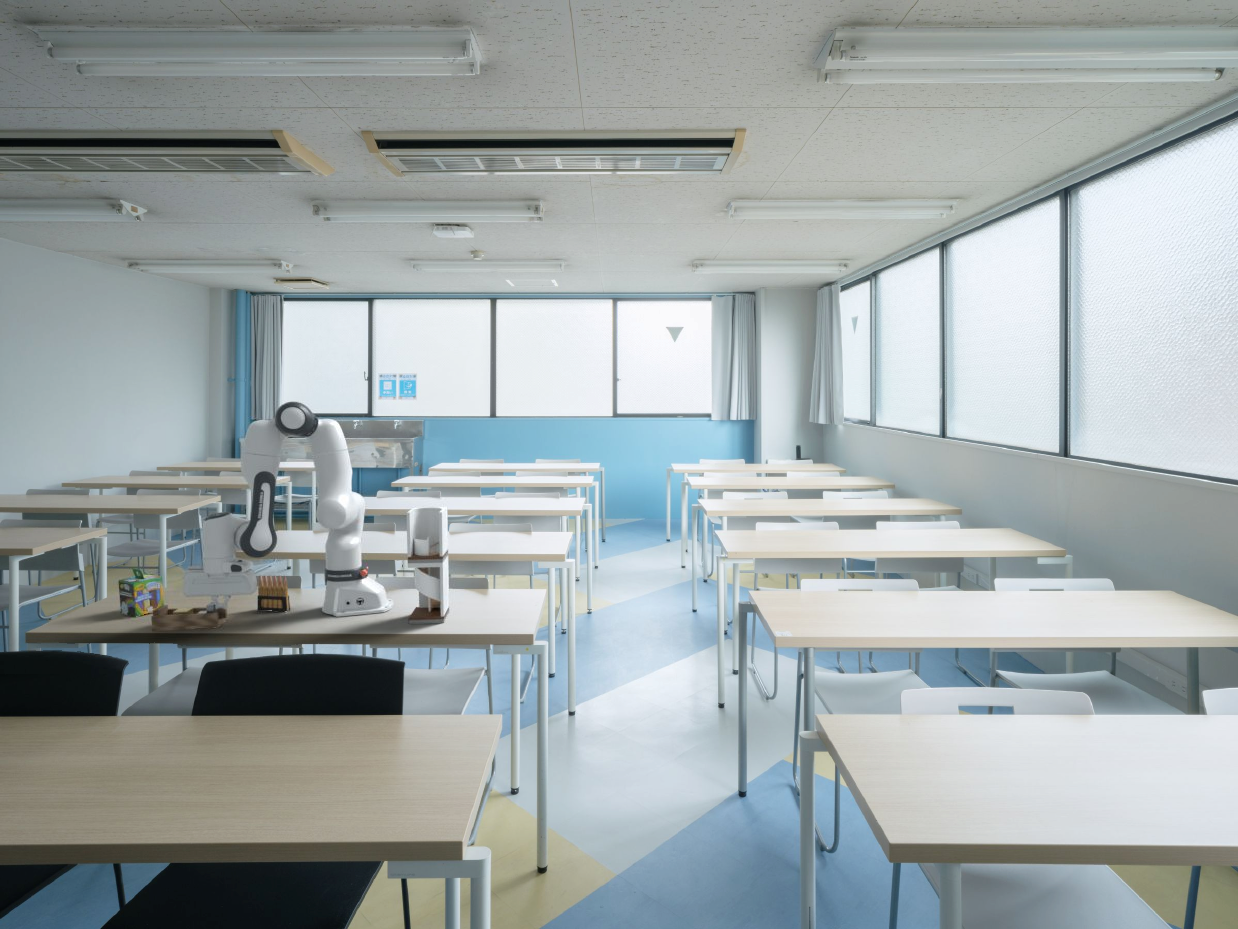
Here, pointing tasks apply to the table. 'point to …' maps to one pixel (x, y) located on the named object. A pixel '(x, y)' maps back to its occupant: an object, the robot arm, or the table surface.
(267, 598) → the ammunition clip
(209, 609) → the grey metal block
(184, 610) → the spacer
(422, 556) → the spiral staircase model
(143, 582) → the chalk box
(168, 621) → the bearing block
